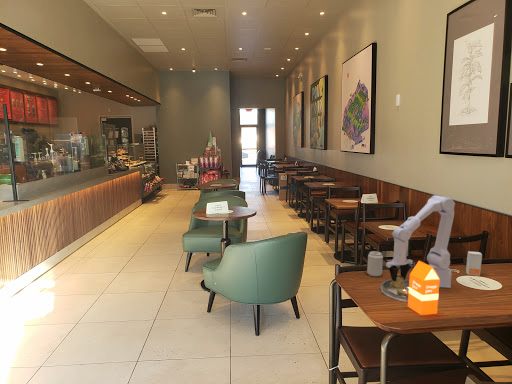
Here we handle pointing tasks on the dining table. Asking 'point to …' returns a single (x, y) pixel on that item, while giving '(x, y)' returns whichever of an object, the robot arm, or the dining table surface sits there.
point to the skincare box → (473, 263)
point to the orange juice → (423, 289)
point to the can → (375, 263)
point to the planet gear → (398, 281)
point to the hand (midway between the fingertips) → (398, 279)
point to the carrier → (396, 290)
